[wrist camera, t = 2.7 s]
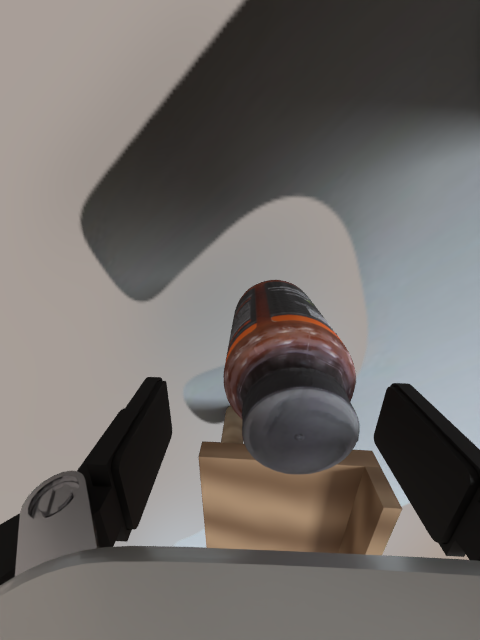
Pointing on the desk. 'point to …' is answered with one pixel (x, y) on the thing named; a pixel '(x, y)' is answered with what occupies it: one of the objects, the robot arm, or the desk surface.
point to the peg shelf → (293, 501)
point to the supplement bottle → (290, 381)
